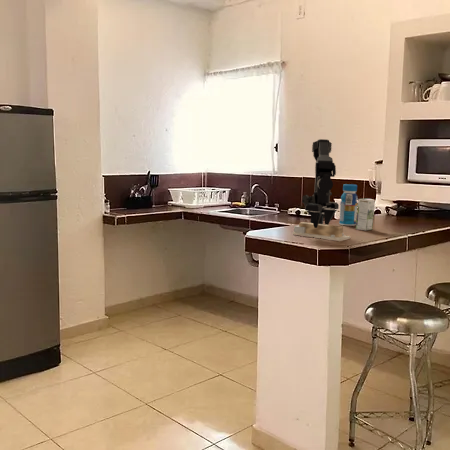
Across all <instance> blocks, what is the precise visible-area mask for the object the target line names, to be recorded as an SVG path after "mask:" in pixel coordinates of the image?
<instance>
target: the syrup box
mask: <svg viewBox="0 0 450 450" xmlns="http://www.w3.org/2000/svg"><path fill="white" fill-rule="evenodd" d="M357 203H358V206H357V216H356V225H355V230H359V231H371V230H373V227H374V216H375V207H376V206H375V204H376V200H375V199H372V198H358V200H357Z"/></svg>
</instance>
